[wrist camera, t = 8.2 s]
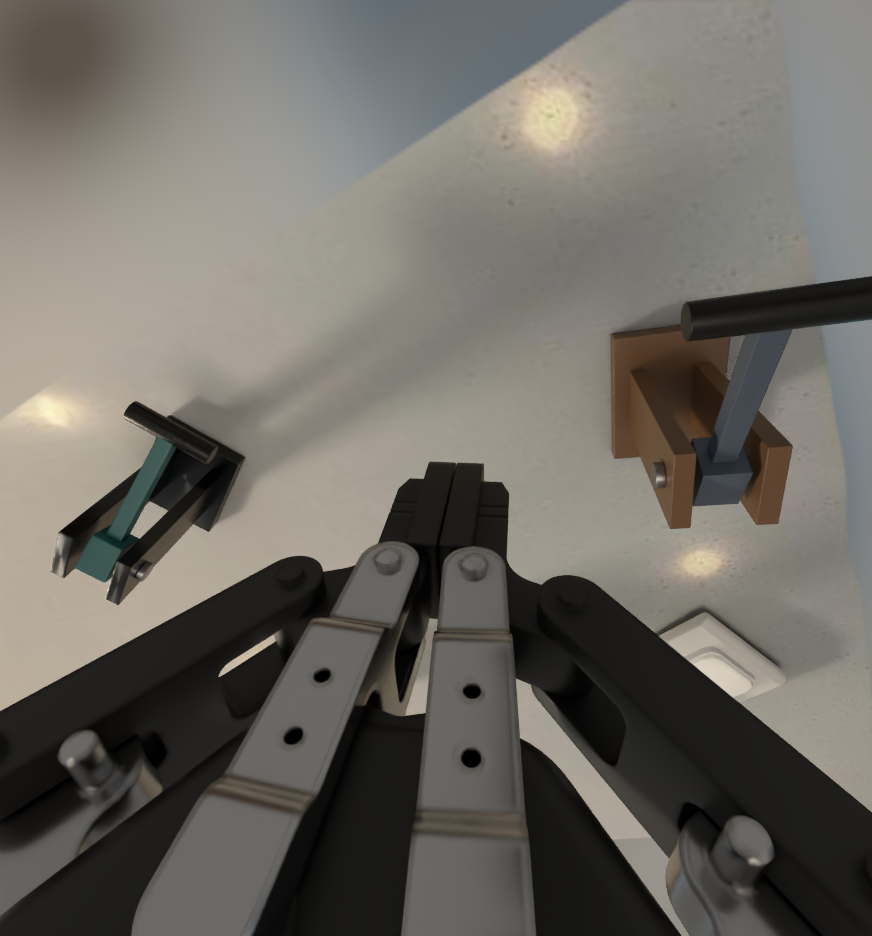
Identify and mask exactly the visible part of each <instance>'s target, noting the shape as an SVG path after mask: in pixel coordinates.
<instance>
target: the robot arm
mask: <svg viewBox="0 0 872 936" xmlns="http://www.w3.org/2000/svg"><path fill="white" fill-rule="evenodd" d="M508 508H509V493H508V491H507V490H506V488H505V487H504V485H503V483H502V482H484V464H479V463H457V466H456V463H450V462H429V464H428V467H427V470H426V474H425V477H424V479H411V478H410V479H409V480H408V481H407V482H406V483H404V484H403V485H402V486H401V487H400V488H399V489H398V492H397V495H396V497H395V500H394V503H393V505H392V508H391V512H390V513H389V516H388V518H387V521H386V524H385V526H384V529H383V531H382V534H381V537H380V539H379V542H378V544H376V545H374V546H372V547H370V548H368V549H367V550H366V551H364V552H363V554H362V555H361V556H360V558H359V560H358V562H357V564H356V565H355V566H352V567H348V568H344V569H338V570H332V571H326V572H323V570H322V566H321V564H320V563H319V562H318V561H316V560H315V559H313V558H310V557H307V556H293V557H288V558H285V559H282V560H279V561H277V562H275V563H273V564H271V565H270V566H268V567H266V568H264V569H262V570H260V571H259V572H257V573H255V574H253V575H251V576H249V577H247V578H246V579H244V580H242V581H240V582H238V583H236V584H235V585H233V586H231V587H229V588H227V589H225V590H223V591H222V592H220V593H218V594H216V595H214V596H212V597H210V598H209V599H207V600H205V601H203V602H201V603H199V604H198V605H196V606H194V607H192V608H190V609H188V610H186V611H185V612H183V613H181V614H179V615H177V616H175V617H174V618H172V619H170V620H168V621H166V622H164V623H162V624H161V625H159V626H157V627H155V628H153V629H151V630H149V631H148V632H146V633H144V634H142V635H140V636H138V637H137V638H135V639H133V640H131V641H129V642H127V643H125V644H124V645H122V646H120V647H118V648H116V649H114V650H113V651H111V652H109V653H107V654H105V655H103V656H101V657H100V658H98V659H96V660H94V661H92V662H90V663H88V664H87V665H85V666H83V667H81V668H79V669H77V670H76V671H74V672H72V673H70V674H68V675H66V676H64V677H63V678H61V679H59V680H57V681H55V682H53V683H52V684H50V685H48V686H46V687H44V688H42V689H40V690H39V691H37V692H35V693H33V694H31V695H29V696H27V697H26V698H24V699H22V700H20V701H18V702H16V703H15V704H13V705H11V706H9V707H7V708H5V709H3V710H2V711H0V936H681V934H680V933H679V932H678V930H677V929H676V928H675V926H674V925H673V923H672V922H671V921H670V919H669V918H668V916H667V915H666V914H665V912H664V911H663V910H662V908H661V907H660V905H659V904H658V903H657V901H656V900H655V899H654V897H653V896H652V894H651V893H650V892H649V890H648V889H647V887H646V886H645V885H644V883H643V882H642V881H641V879H640V878H639V876H638V875H637V874H636V872H635V871H634V869H633V868H632V867H631V865H630V864H629V863H628V862H627V860H626V859H625V857H624V856H623V854H622V853H621V851H620V850H619V849H618V847H617V846H616V845H615V843H614V842H613V840H612V839H611V838H610V836H609V835H608V833H607V832H606V831H605V829H604V828H603V826H602V825H601V824H600V822H599V821H598V820H597V818H596V817H595V815H594V814H593V813H592V811H591V810H590V808H589V807H588V806H587V804H586V803H585V801H584V800H583V799H582V797H581V796H580V795H579V793H578V792H577V790H576V789H575V788H574V786H573V785H572V783H571V782H570V781H569V779H568V778H567V777H566V775H565V774H564V773H563V772H562V771H561V770H560V768H559V767H558V766H557V765H556V764H555V763H554V762H553V761H552V760H551V759H550V758H549V757H547V756H546V755H545V754H544V753H543V752H542V751H540V750H539V749H537V748H536V747H534V746H533V745H531V744H530V743H528V742H526V741H524V740H523V739H521V738H520V733H519V719H518V705H517V691H516V678H517V679H519V680H521V681H524V682H526V683H529V684H531V688H532V691H533V693H534V695H535V697H536V698H537V700H538V701H539V702H540V703H541V704H542V706H543V707H544V708H545V709H546V710H547V712H548V713H549V714H550V715H551V716H552V718H553V719H554V720H555V721H556V722H557V724H558V725H559V726H560V727H561V728H562V730H563V731H564V732H565V733H566V735H567V736H568V737H569V738H570V739H571V741H572V742H573V743H574V744H575V745H576V747H577V748H578V749H579V750H580V751H581V753H582V754H583V755H584V756H585V757H586V759H587V760H588V761H589V762H590V763H591V765H592V766H593V767H594V768H595V770H596V771H597V772H598V773H599V774H600V776H601V777H602V778H603V779H604V780H605V782H606V783H607V784H608V785H609V786H610V788H611V789H612V790H613V791H614V792H615V794H616V795H617V796H618V797H619V798H620V800H621V801H622V802H623V803H624V805H625V806H626V807H627V808H628V809H629V811H630V812H631V813H632V814H633V815H634V817H635V818H636V819H637V820H638V821H639V823H640V824H641V825H642V826H643V827H644V829H645V830H646V831H647V832H648V833H649V835H650V836H651V837H652V838H653V839H654V841H655V842H656V843H657V844H658V846H659V847H660V848H661V849H662V850H663V852H664V853H665V854H666V855H667V856H668V858H669V861H668V864H667V868H666V887H667V892H668V896H669V899H670V902H671V904H672V906H673V908H674V910H675V913H676V914H677V916H678V918H679V919H680V921H681V922H682V924H683V926H684V927H685V929H686V930H687V932H688V934H689V936H872V812H871V811H869V810H868V809H867V808H866V807H865V806H863V805H862V804H861V803H860V802H859V801H857V800H856V799H855V798H854V797H853V796H851V795H850V794H849V793H848V792H846V791H845V790H844V789H843V788H842V787H840V786H839V785H838V784H837V783H836V782H834V781H833V780H832V779H831V778H830V777H828V776H827V775H826V774H825V773H823V772H822V771H821V770H820V769H819V768H817V767H816V766H815V765H814V764H813V763H811V762H810V761H809V760H808V759H807V758H805V757H804V756H803V755H802V754H801V753H799V752H798V751H797V750H796V749H794V748H793V747H792V746H791V745H790V744H788V743H787V742H786V741H785V740H784V739H782V738H781V737H780V736H779V735H778V734H776V733H775V732H774V731H773V730H771V729H770V728H769V727H768V726H767V725H765V724H764V723H763V722H762V721H761V720H759V719H758V718H757V717H756V716H755V715H753V714H752V713H751V712H750V711H749V710H747V709H746V708H745V707H744V706H742V705H741V704H740V703H739V702H738V701H736V700H735V699H734V698H733V697H732V696H730V695H729V694H728V693H727V692H726V691H724V690H723V689H722V688H721V687H719V686H718V685H717V684H716V683H715V682H713V681H712V680H711V679H710V678H709V677H707V676H706V675H705V674H704V673H703V672H701V671H700V670H699V669H698V668H697V667H695V666H694V665H693V664H692V663H690V662H689V661H688V660H687V659H686V658H684V657H683V656H682V655H681V654H680V653H678V652H677V651H676V650H675V649H674V648H672V647H671V646H670V645H669V644H668V643H666V642H665V641H664V640H663V639H661V638H660V637H659V636H658V635H657V634H655V633H654V632H653V631H652V630H651V629H649V628H648V627H647V626H646V625H645V624H643V623H642V622H641V621H640V620H638V619H637V618H636V617H635V616H634V615H632V614H631V613H630V612H629V611H628V610H626V609H625V608H624V607H623V606H622V605H620V604H619V603H618V602H617V601H616V600H614V599H613V598H612V597H611V596H609V595H608V594H607V593H606V592H605V591H603V590H602V589H601V588H600V587H599V586H597V585H596V584H594V583H593V582H591V581H589V580H587V579H585V578H582V577H578V576H572V575H563V576H557V577H553V578H551V579H549V580H547V581H546V582H545V583H543V584H542V585H540V584H537V583H534V582H531V581H528V580H526V579H524V578H522V577H520V576H519V575H518V574H516V573H515V572H514V571H513V570H512V569H511V567H510V566H509V564H508V562H507V535H508ZM429 618H433V619H438V626H437V631H435V632H434V635H433V643H432V653H431V664H430V674H429V684H428V695H427V705H426V713H424V714H416V715H409V716H405V713H406V709H407V706H408V703H409V699H410V696H411V692H412V689H413V686H414V682H415V679H416V676H417V672H418V669H419V665H420V662H421V659H422V655H423V652H424V648H425V644H426V643H425V634H426V631H427V626H428V622H429ZM273 634H274V635H275V639H276V642H274V643H273V644H271V645H270V646H268V647H266V648H265V649H263V650H262V651H260V652H259V653H257V654H256V655H254V656H252V657H251V658H249V659H248V660H246V661H245V662H243V663H241V664H240V665H238V666H237V667H235V668H234V669H232V670H231V671H229V672H227V673H226V674H224V675H223V676H220V677H218V676H219V673H220V672H221V670H222V669H223V667H224V666H225V665H226V664H228V663H229V662H230V661H232V660H233V659H235V658H236V657H238V656H240V655H241V654H243V653H244V652H246V651H248V650H249V649H251V648H252V647H254V646H255V645H257V644H259V643H260V642H262V641H263V640H265V639H267V638H268V637H270V636H271V635H273Z"/></svg>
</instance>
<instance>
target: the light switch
mask: <svg viewBox="0 0 872 936" xmlns="http://www.w3.org/2000/svg"><path fill="white" fill-rule="evenodd" d="M659 637H660V638H661V639H663V640H664V641H665V642H666V643H668V644H669V645H670V646H671V647H672V648H674V649H675V650H676V651H677V652H678V653H680V654H681V655H682V656H683V657H684V658H686V659H687V660H688V661H689V662H690V663H692V664H693V665H694V666H695V667H697V668H698V669H699V670H700V671H701V672H703V673H704V674H705V675H706V676H707V677H709V678H710V679H711V680H712V681H713V682H715V683H716V684H717V685H718V686H719V687H721V688H722V689H723V690H724V691H726V692H727V693H728V694H729V695H730V696H732V697H733V698H734V699H735V700H736V701H738V702H739V703H740V702H742V701H745V700H747V699H750V698H752V697H755V696H757V695H760V694H762V693H765V692H767V691H770V690H773V689H775V688H778V687H780V686H782V684H783V683H784V682H785V681H786V675H785V673H784V671H783V670H781V669H780V668H779V667H777V666H776V665H775V664H773V663H772V662H771V661H770V660H768V659H767V658H766V657H764V656H763V655H762V654H760V653H759V652H758V651H757V650H755V649H754V648H753V647H751V646H750V645H749V644H748V643H746V642H745V641H744V640H742V639H741V638H740V637H738V636H737V635H736V634H735V633H733V632H732V631H731V630H729V629H728V628H727V627H725V626H724V625H723V624H722V623H720V622H719V621H718V620H716V619H715V618H714V617H712V616H711V615H710V614H709V613H706V612H704V613H701V614H699V615H698V616H696V617H694V618H692V619H690V620H688V621H686V622H684V623H682V624H680V625H678V626H676V627H675V628H673V629H671V630H669V631H667V632H665V633H663V634H661V635H659Z"/></svg>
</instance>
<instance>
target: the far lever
mask: <svg viewBox="0 0 872 936" xmlns="http://www.w3.org/2000/svg"><path fill="white" fill-rule="evenodd" d="M124 419H125V420H127V421H129V422H131V423H132V424H134V425H136V426H138V427H140V428H142V429H143V430H145V431H147V432H149V433H151V434H153V435H154V436H156V437H158V438H157V439H156V441H155V443H154V445H153V447H152V449H151V451H150V453H149V455H148V456H147V458H146V460H145V462H144V464H143V466H142V468H141V470H140V472H139V473H138V475H137V477H136V479H135V481H134V483H133V485H132V487H131V488H130V490H129V492H128V494H127V496H126V498H125V500H124V502H123V504H122V505H121V507H120V509H119V511H118V513H117V515H116V517H115V519H114V521H113V522H112V524H111V525H110V526H108V527H106V528H104V529H102V530H100V531H99V532H97V533H95V534H93V535H92V536H91V538H90V540H89V542H88V543H87V545H86V547H85V549H84V551H83V553H82V555H81V557H80V559H79V561H78V562H77V564H76V566H75V569H78V570H80V571H82V572H84V573H86V574H88V575H90V576H92V577H94V578H96V579H98V580H100V581H102V582H106V581H108V580H109V579H110V578H112V576H113V572H114V569H115V566H116V563H117V561H118V560H119V559H120V558H121V557H122V556H123V555H124V554H125V553H126V552H127V551H128V550H129V549H130V548H131V547H132V546H133V545H134V544H135V543H136V542H137V541H138V540H139V538H137V537H135V536H133V535H131V534H130V533H131V531H132V529H133V527H134V525H135V523H136V522H137V520H138V518H139V516H140V514H141V512H142V510H143V509H144V507H145V505H146V503H147V501H148V499H149V497H150V496H151V494H152V492H153V490H154V488H155V486H156V484H157V483H158V481H159V479H160V477H161V475H162V473H163V471H164V470H165V468H166V466H167V464H168V462H169V460H170V458H171V457H172V455H173V453H174V451H175V449H176V448H178V449H180V450H182V451H183V452H185V453H187V454H189V455H191V456H193V457H194V458H196V459H198V460H200V461H202V462H203V463H205V464H208V463H209V462H210V461H211V460H212V459H213V458H214V456H215V455H216V453H217V451H218V446H217V445H215V444H213V443H211V442H209V441H208V440H206V439H204V438H202V437H200V436H199V435H197V434H195V433H193V432H191V431H190V430H188V429H186V428H184V427H182V426H181V425H179V424H177V423H175V422H173V421H172V420H170V419H168V418H166V417H165V416H163V415H161V414H159V413H157V412H156V411H154V410H152V409H150V408H148V407H147V406H145V405H143V404H141V403H139V402H137V401H135V402H133V403H132V404H130V405H129V407H128V408H127V409H126V411H125V413H124Z"/></svg>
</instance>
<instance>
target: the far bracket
mask: <svg viewBox="0 0 872 936" xmlns="http://www.w3.org/2000/svg"><path fill="white" fill-rule="evenodd" d="M167 418H168V419H170V420H172V421H173V422H175V423H177V424H179V425H181V426H182V427H184V428H186V429H188V430H190V431H191V432H193V433H195V434H197V435H199V436H200V437H202V438H204V439H206V440H208V441H209V442H211V443H213V444H215V445H217V446H218V451H217V453H216V455H215V456H214V458H213V459H212V460H211V461H210V462H209V463H208V464H205V463H203V462H202V461H200V460H198V459H196V458H194V457H193V456H191V455H189V454H187V453H185V452H183V451H182V450H180V449H178V448H176V449H175V451H174V453H173V455H172V457H171V458H170V460H169V462H168V464H167V466H166V468H165V470H164V471H163V473H162V475H161V477H160V479H159V481H158V483H157V484H156V486H155V488H154V490H153V492H152V494H151V496H150V497H149V499H148V501H147V503H148V502H150V501H151V502H153V503H155V504H157V505H158V506H160V507H162V508H164V509H166V510H168V512H167V513H166V514H165V515H164V516H163V517H162V518H161V519H160V520H159V521H158V522H157V523H156V524H155V525H154V526H153V527H152V528H151V529H150V530H148V531H147V532H146V533H145V534H144V535H143V536H142V537H141V538H140V539H139V540H138V541H137V542H136V543H135V544H134V545H133V546H132V547H131V548H130V549H129V550H128V551H127V552H126V553H125V554H124V555H123V556H122V557H121V558H120V559H119V560H118V561H117V563H116V566H115V569H114V572H113V576H112V579H111V582H110V585H109V588H108V592H107V595H106V598H105V599H107V600H109V601H111V602H113V603H115V604H117V605H119V604H120V603H121V602H122V601H123V600H124V598H125V597H126V596H127V595H128V594H129V593H130V592H131V591H132V590H133V589H134V588H135V587H136V585H137V584H138V583H139V582H140V581H143V580H145V579H146V577H147V576H148V575H149V574H150V572H151V571H152V569H153V567H154V566H155V565H156V564H157V563H158V562H159V561H160V559H161V558H162V557H163V556H164V555H165V554H166V553H167V552H168V551H169V550H170V549H171V548H172V547H173V545H174V544H175V543H176V542H177V541H178V540H179V539H180V538H181V537H182V536H183V535H184V534H185V532H186V531H187V530H188V529H189V528H190V527H191V526H192V525H193V524H195V525H196V526H198V527H200V528H202V529H204V530H206V531H208V532H209V531H210V530H211V529H212V528H213V526H214V525H215V524H216V522H217V519H218V517H219V515H220V513H221V510H222V508H223V506H224V504H225V501H226V499H227V497H228V495H229V492H230V490H231V488H232V486H233V484H234V481H235V479H236V477H237V475H238V472H239V470H240V468H241V466H242V463H243V461H244V459H245V457H243V456H241V455H240V454H238V453H236V452H234V451H233V450H231V449H229V448H227V447H225V446H224V445H222V444H220V443H218V442H216V441H215V440H213V439H211V438H209V437H208V436H206V435H204V434H202V433H200V432H199V431H197V430H195V429H193V428H191V427H190V426H188V425H186V424H184V423H182V422H181V421H179V420H177V419H175V418H174V417H172V416H168V417H167ZM157 438H158V437H156V439H157ZM155 441H156V440H155ZM141 468H142V467H141ZM141 468H140V469H138V470H137V471H136V472H135V473H133V474H132V475H131V476H130V477H128V478H127V479H126V480H124V481H123V482H122V483H121V484H119V485H118V486H117V487H116V488H114V489H113V490H112V491H110V492H109V493H108V494H107V495H105V496H104V497H103V498H102V499H100V500H99V501H98V502H96V503H95V504H94V505H93V506H91V507H90V508H89V509H88V510H86V511H85V512H84V513H82V514H81V515H80V516H79V517H77V518H76V519H75V520H74V521H72V522H71V523H70V524H68V525H67V526H66V527H65V528H63V529H62V530H61V531H60V532H59V534H58V539H57V544H56V549H55V553H54V558H53V563H52V568H51V572H52V573H54V574H56V575H58V576H60V577H62V578H65V577H66V576H67V575H68V574H69V573H70V572H71V571H73V570H74V569H75V566H76V564H77V562H78V561H79V559H80V557H81V555H82V553H83V551H84V549H85V547H86V545H87V543H88V542H89V540H90V538H91V536H92V535H93V534H95V533H97V532H99V531H100V530H102V529H104V528H106V527H108V526H110V525H111V524H112V522H113V521H114V519H115V517H116V515H117V513H118V511H119V509H120V507H121V505H122V504H123V502H124V500H125V498H126V496H127V494H128V492H129V490H130V488H131V487H132V485H133V483H134V481H135V479H136V477H137V475H138V473H139V472H140V470H141ZM147 503H146V504H147Z"/></svg>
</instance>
